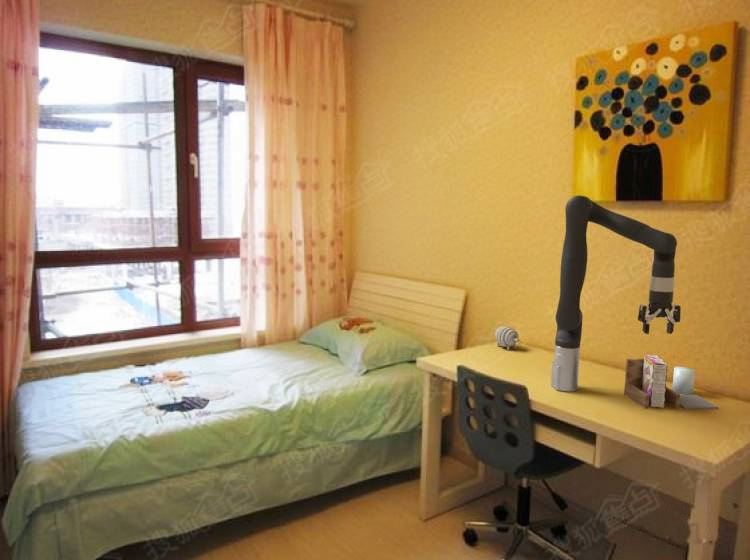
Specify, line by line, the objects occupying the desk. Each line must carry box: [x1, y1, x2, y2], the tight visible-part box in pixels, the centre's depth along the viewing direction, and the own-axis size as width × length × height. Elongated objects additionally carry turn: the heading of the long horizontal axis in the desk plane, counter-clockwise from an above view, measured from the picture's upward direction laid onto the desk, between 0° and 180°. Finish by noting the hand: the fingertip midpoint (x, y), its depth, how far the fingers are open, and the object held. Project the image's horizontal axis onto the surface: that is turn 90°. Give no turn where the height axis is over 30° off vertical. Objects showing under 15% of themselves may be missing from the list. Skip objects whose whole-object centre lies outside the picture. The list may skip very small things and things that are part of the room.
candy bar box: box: [642, 354, 669, 409], centre depth 188 cm, size 11×5×16 cm, turn 168°
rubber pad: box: [679, 394, 719, 410], centre depth 189 cm, size 12×12×1 cm
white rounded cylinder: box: [671, 366, 696, 395], centre depth 199 cm, size 7×7×9 cm
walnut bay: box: [623, 358, 681, 410], centre depth 189 cm, size 12×14×14 cm
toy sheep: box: [494, 325, 520, 351], centre depth 260 cm, size 11×17×11 cm, turn 32°
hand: (657, 333), depth 186 cm, fingers open, 8 cm apart
